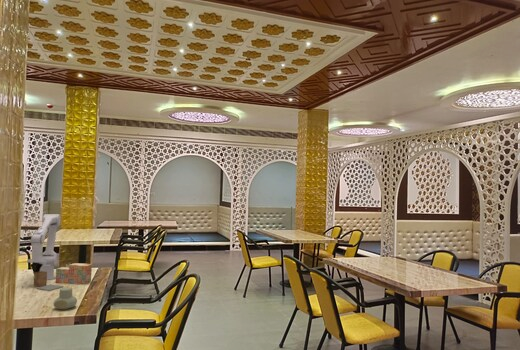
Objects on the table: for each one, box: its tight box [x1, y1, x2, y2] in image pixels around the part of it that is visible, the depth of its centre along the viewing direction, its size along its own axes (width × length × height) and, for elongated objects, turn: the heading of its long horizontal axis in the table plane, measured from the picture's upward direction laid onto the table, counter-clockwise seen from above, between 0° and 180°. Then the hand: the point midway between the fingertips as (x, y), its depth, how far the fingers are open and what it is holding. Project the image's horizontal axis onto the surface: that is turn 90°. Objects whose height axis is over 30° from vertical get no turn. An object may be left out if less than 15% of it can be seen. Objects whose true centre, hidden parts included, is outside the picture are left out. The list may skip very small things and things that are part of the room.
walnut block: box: [33, 271, 48, 289], centre depth 235 cm, size 5×5×9 cm
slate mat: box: [35, 283, 64, 292], centre depth 232 cm, size 11×10×1 cm
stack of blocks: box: [55, 262, 93, 285], centre depth 247 cm, size 21×6×12 cm, turn 84°
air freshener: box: [53, 287, 78, 311], centre depth 194 cm, size 11×8×10 cm
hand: (36, 274), depth 236 cm, fingers closed
